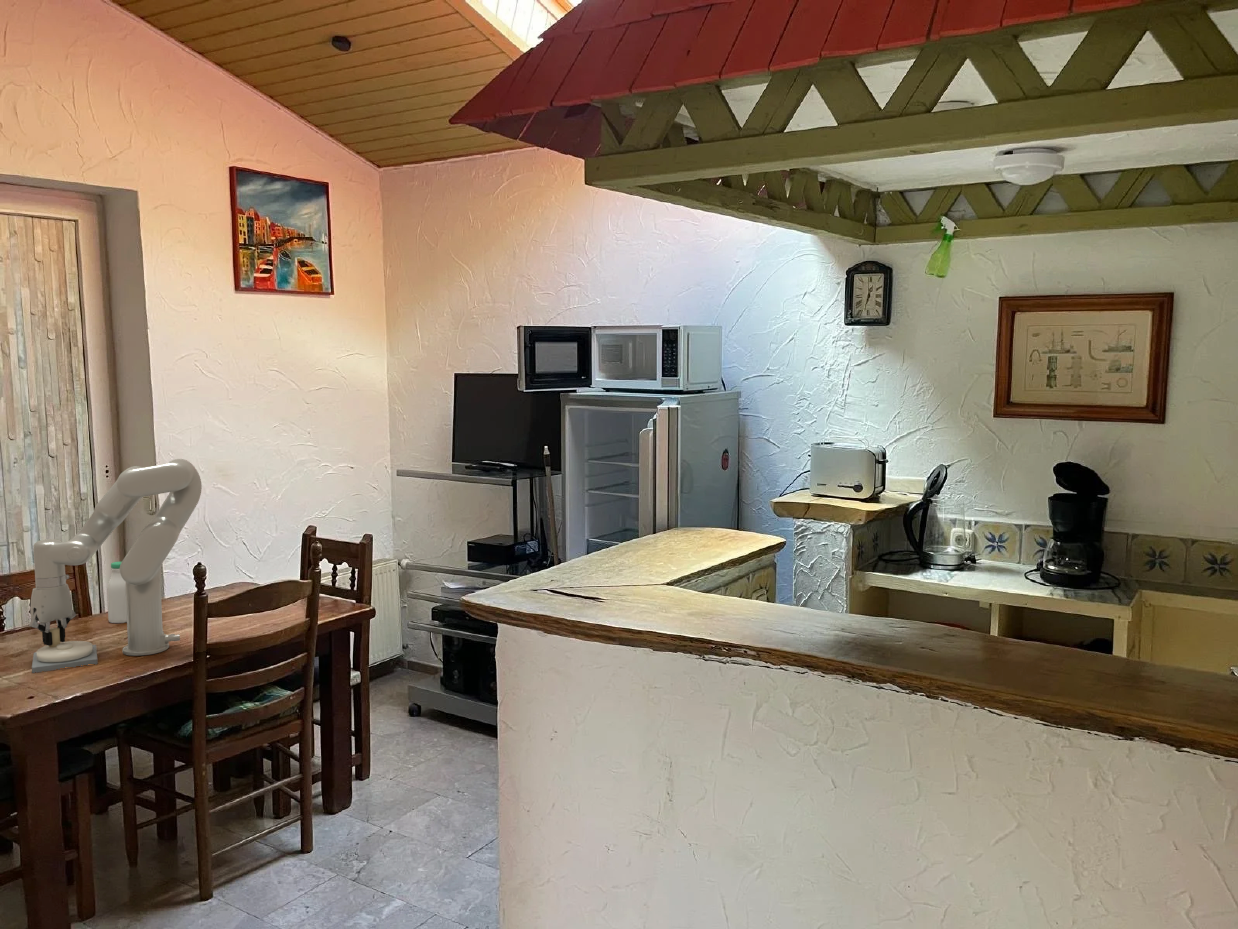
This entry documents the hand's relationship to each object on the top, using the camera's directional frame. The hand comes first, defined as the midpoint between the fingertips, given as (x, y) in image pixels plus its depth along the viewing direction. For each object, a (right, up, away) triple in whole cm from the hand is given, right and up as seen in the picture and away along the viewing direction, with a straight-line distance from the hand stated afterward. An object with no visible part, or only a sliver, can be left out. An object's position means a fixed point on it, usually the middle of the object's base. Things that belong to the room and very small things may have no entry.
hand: (54, 642), depth 270 cm
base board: (+4, -5, -2) cm, 7 cm away
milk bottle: (-2, -1, +41) cm, 41 cm away
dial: (+4, -3, -2) cm, 6 cm away
